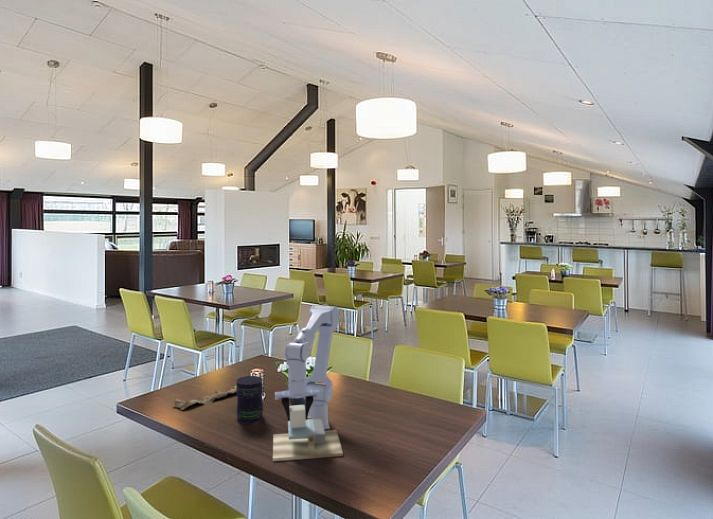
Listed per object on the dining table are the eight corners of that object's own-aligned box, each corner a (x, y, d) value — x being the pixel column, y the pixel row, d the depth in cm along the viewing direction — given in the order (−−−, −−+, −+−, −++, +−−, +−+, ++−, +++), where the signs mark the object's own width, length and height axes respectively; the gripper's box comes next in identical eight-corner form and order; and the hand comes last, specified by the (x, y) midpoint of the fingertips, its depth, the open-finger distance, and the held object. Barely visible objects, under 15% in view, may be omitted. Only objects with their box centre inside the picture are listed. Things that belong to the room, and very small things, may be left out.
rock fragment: (240, 387, 216) (240, 380, 216) (254, 392, 210) (254, 385, 210) (171, 406, 190) (171, 399, 190) (184, 412, 183) (184, 405, 183)
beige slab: (273, 437, 161) (273, 418, 161) (336, 432, 165) (336, 414, 165) (272, 461, 145) (272, 440, 144) (342, 455, 148) (342, 435, 148)
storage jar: (234, 415, 180) (233, 378, 179) (259, 411, 184) (258, 374, 183) (240, 425, 171) (239, 385, 170) (266, 420, 175) (265, 381, 175)
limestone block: (289, 421, 156) (289, 405, 155) (304, 420, 157) (304, 404, 156) (290, 428, 151) (289, 411, 151) (305, 426, 152) (305, 410, 151)
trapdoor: (288, 429, 160) (287, 420, 160) (321, 427, 162) (321, 418, 161) (288, 445, 148) (288, 436, 147) (325, 443, 149) (324, 433, 149)
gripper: (274, 384, 148) (275, 425, 149) (320, 381, 150) (320, 422, 151) (274, 377, 155) (275, 416, 156) (318, 374, 157) (318, 414, 158)
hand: (297, 419), depth 154 cm, fingers closed on limestone block, 5 cm apart
